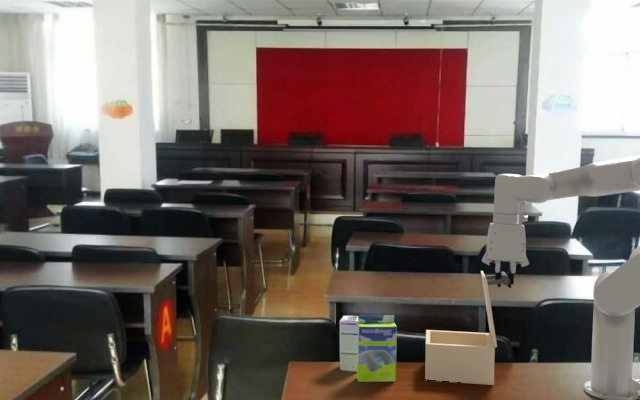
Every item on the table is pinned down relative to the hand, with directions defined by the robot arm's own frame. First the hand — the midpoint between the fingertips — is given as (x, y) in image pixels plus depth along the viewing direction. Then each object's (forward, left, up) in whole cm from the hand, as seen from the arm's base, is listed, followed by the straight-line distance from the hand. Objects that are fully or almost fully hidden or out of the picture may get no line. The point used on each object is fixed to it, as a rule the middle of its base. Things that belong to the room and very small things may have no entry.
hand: (503, 286), depth 168 cm
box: (+34, +9, -25) cm, 43 cm away
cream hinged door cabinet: (+12, 0, -25) cm, 28 cm away
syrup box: (+42, +1, -25) cm, 49 cm away
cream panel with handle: (+4, 0, -6) cm, 7 cm away
